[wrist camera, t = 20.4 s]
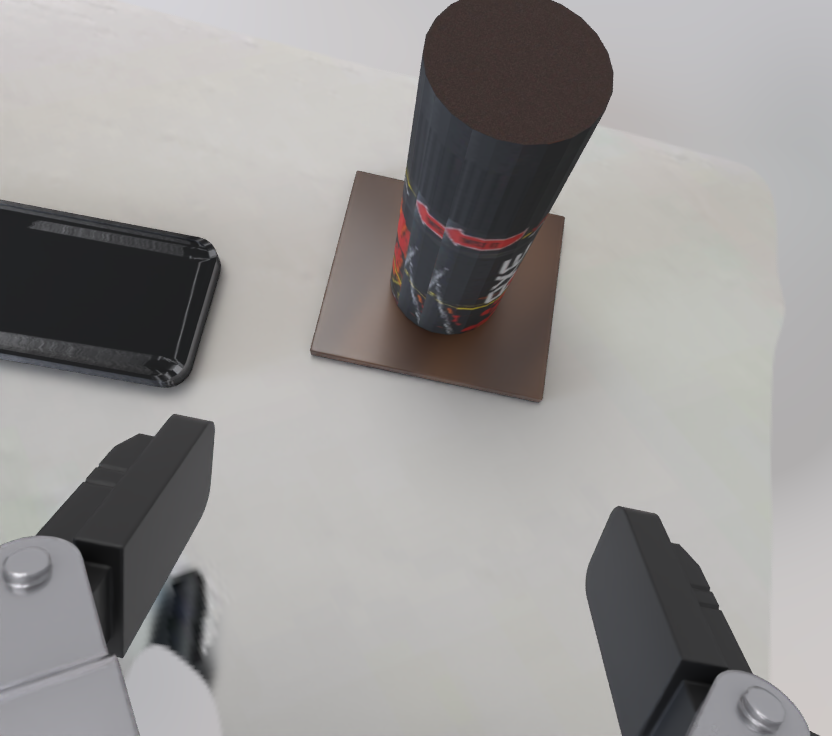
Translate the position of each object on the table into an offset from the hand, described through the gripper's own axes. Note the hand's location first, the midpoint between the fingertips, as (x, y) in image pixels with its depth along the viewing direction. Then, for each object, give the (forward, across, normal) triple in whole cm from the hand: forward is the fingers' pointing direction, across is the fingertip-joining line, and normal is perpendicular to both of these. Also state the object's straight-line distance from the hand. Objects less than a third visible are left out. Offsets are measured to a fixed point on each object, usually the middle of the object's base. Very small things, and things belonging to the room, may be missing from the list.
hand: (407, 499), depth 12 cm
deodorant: (+22, -1, +3) cm, 22 cm away
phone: (+19, +18, +6) cm, 27 cm away
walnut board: (+22, -1, +3) cm, 23 cm away
